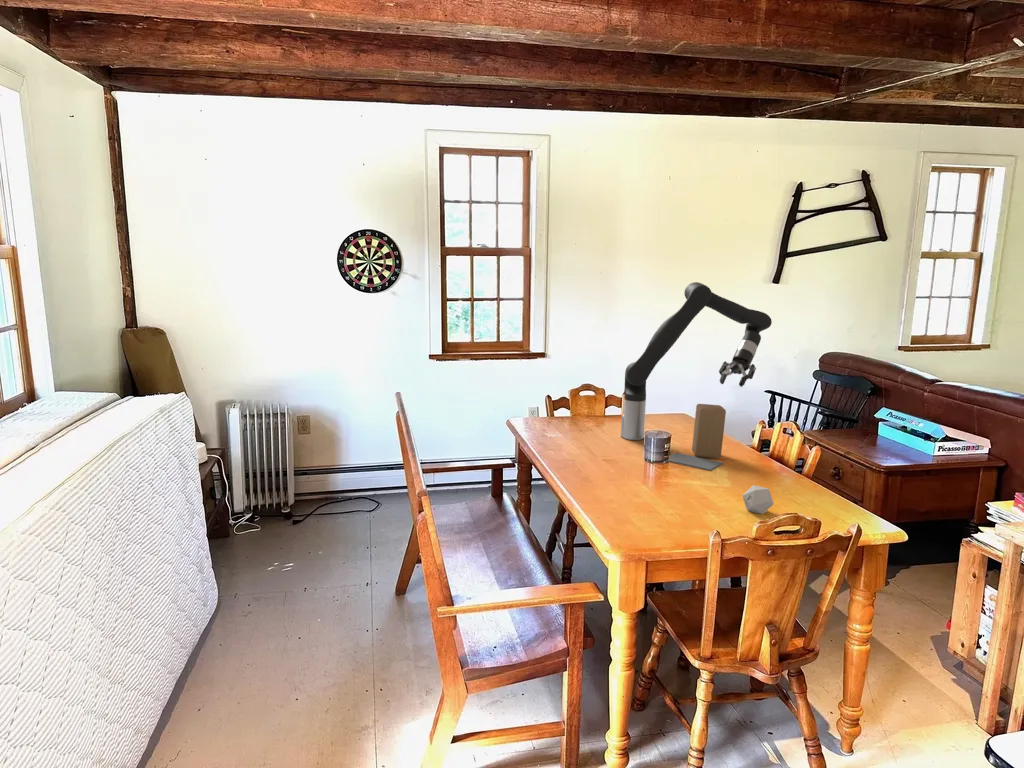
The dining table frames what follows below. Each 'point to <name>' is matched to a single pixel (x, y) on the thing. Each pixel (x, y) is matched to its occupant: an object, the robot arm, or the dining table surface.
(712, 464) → the mat
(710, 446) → the wooden block
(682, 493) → the dining table surface
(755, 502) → the die
